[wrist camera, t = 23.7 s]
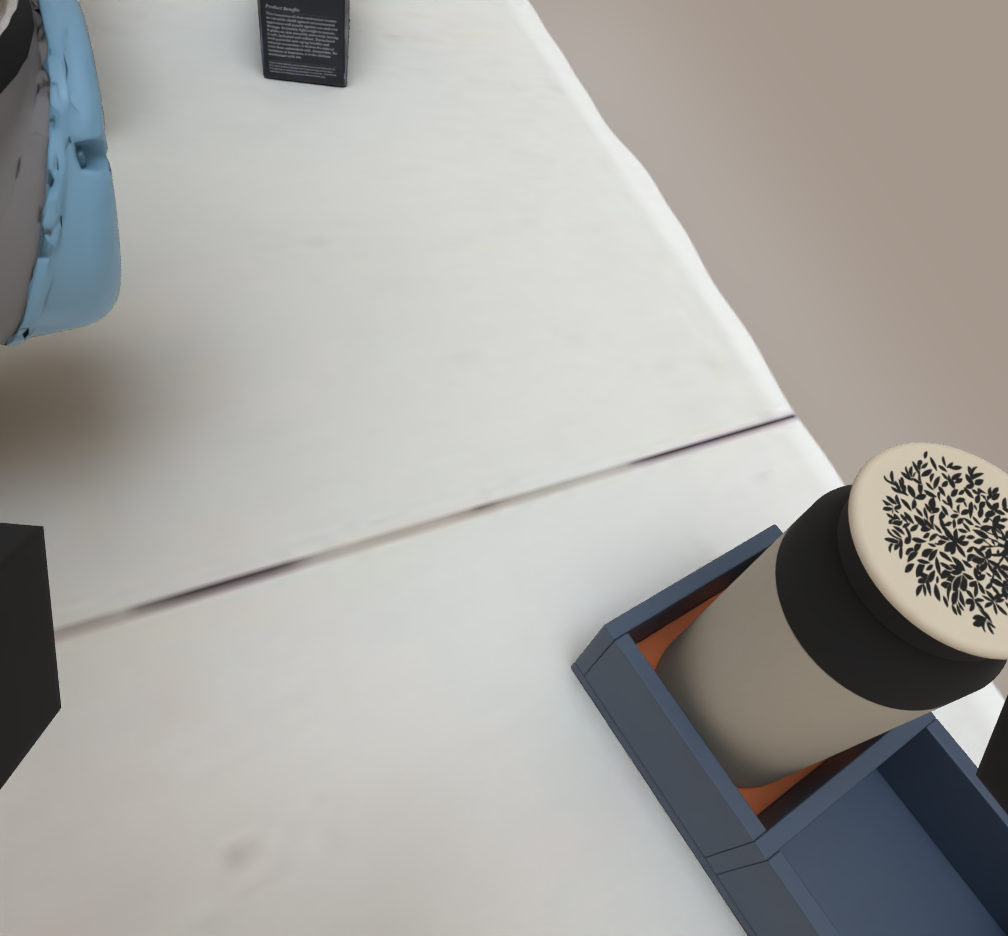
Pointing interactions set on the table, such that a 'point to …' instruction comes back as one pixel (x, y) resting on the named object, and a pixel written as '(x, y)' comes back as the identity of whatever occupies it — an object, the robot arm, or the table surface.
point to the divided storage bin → (807, 799)
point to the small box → (305, 40)
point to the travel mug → (853, 617)
